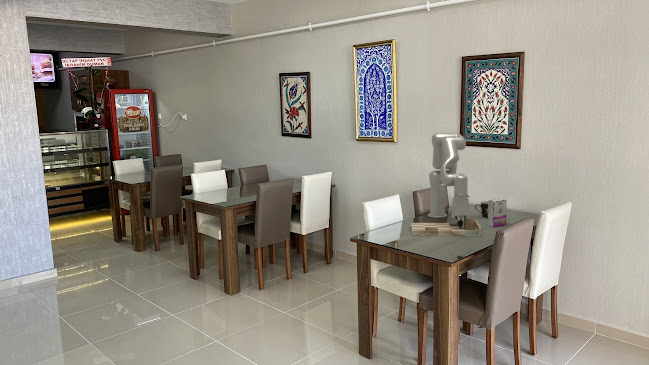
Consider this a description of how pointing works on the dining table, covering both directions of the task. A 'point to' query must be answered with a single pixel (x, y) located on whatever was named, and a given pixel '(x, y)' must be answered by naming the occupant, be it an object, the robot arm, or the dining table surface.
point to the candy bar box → (497, 212)
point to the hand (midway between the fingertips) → (460, 227)
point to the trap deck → (443, 229)
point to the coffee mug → (483, 209)
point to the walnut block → (470, 224)
